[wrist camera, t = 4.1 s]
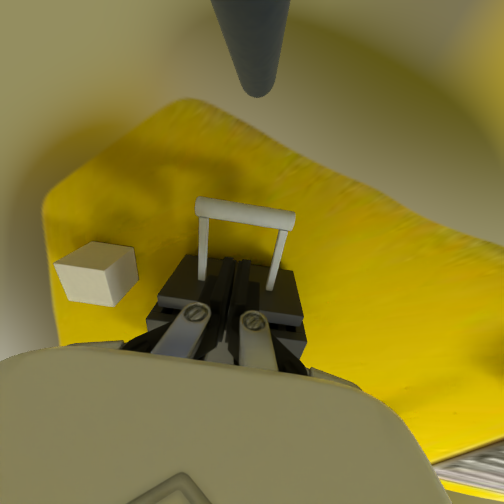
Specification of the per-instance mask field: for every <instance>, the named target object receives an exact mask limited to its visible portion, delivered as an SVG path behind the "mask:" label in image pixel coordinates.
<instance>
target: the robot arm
mask: <svg viewBox="0 0 504 504" xmlns="http://www.w3.org/2000/svg"><path fill="white" fill-rule="evenodd" d="M250 264H251V260H244V259H243V260H242V261H239V263H238V268H237V272H236V277H235V282H234V275H235V267H236V260H233V258H231V257H225V258H224V261H223V263H222V266H221V269H220V272H219V275H218V276H216V275H210V274H209V276H208V278H207V280H206V282H205V285H204V287H203V289H202V292H201V294H200V296H199V299H198V301H197V302H193V303H190V304H188V305H186V306H185V307H184V308H183V309H182V310H181V312H180V313H179V314H178V316H177V317H176V318H175V320H173V321H171V322H169V323H166V324H164V325H162V326H160V327H158V328H155V329H153V330H151V331H149V332H146V333H144V334H142V335H140V336H138V337H135V338H134V339H132V340H130V341H129V342H127V343H124V341H123V340H119V341H104V342H88V343H75V344H70V345H67V346H62V347H50V348H45V349H39V350H34V351H29V352H25V353H21V354H18V355H15V356H12V357H9V358H7V359H5V360H3V361H1V362H0V504H452V502H451V500H450V498H449V497H448V495H447V493H446V491H445V489H444V487H443V485H442V484H441V482H440V480H439V478H438V476H437V474H436V473H435V471H434V469H433V467H432V465H431V464H430V462H429V460H428V458H427V457H426V455H425V453H424V452H423V450H422V448H421V447H420V445H419V444H418V442H417V440H416V439H415V437H414V435H413V434H412V433H411V431H410V430H409V428H408V427H407V425H406V424H405V423H404V422H403V420H402V419H401V418H400V417H399V416H398V415H397V414H396V413H395V412H394V411H393V410H392V409H391V408H390V407H388V406H387V405H385V404H384V403H383V402H381V401H380V400H378V399H376V398H375V397H373V396H371V395H369V394H367V393H365V392H363V391H362V390H361V389H360V388H359V387H358V386H357V385H356V384H354V383H352V382H350V381H347V380H345V379H342V378H339V377H337V376H334V375H331V374H329V373H326V372H323V371H320V370H318V369H315V368H312V367H311V368H310V369H308V368H306V367H305V366H304V365H303V363H302V362H301V361H300V360H299V359H298V358H297V357H296V356H295V355H294V354H293V353H292V352H291V351H290V350H289V349H287V348H286V347H285V346H284V345H283V344H282V343H281V342H280V341H279V340H278V339H277V338H276V337H275V336H274V335H273V334H272V333H271V332H270V328H269V324H268V320H267V318H266V317H265V315H263V314H262V313H261V312H259V300H260V282H256V281H249V273H250ZM233 283H234V286H233ZM232 290H233V291H232ZM229 306H230V307H229ZM228 311H229V315H228ZM227 316H228V323H227V330H226V338H225V343H228V351H229V352H230V354H231V355H232V356H233V360H232V365H229V364H222V363H215V362H208V361H206V360H207V357H208V353H209V352H210V351H212V350H213V349H215V348H217V345H218V342H222V340H223V335H224V330H225V325H226V321H227Z"/></svg>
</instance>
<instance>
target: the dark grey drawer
mask: <svg viewBox="0 0 504 504" xmlns="http://www.w3.org/2000/svg"><path fill="white" fill-rule="evenodd" d="M195 214H196V215H197V216H200V217H199V256H193V255H187V254H186V255H185V256H184V258H183V259H182V261H181V262H180V264H179V265H178V266H177V268H176V269H175V271H174V272H173V274H172V275H171V276H170V278H169V279H168V281H167V282H166V283H165V285H164V286H163V288H162V289H161V291H160V292H159V293H158V295H157V297H158V306H160V307H167V308H174V310H173V312H172V315H178V314H179V313H180V312H181V310H182V309H183V308H184V307H185V306H186V305H188V304H190V303H193V302H197V301H198V299H199V296H200V294H201V292H202V289H203V287H204V285H205V282H206V280H207V278H208V276H209V274H210V275H216V276H218V275H219V272H220V269H221V266H222V263H223V261H224V260H219V259H213V258H207V250H208V227H209V218H213V219H220V220H226V221H232V222H238V223H244V224H251V225H257V226H263V227H269V228H276V229H279V232H278V236H277V241H276V245H275V249H274V253H273V257H272V262H271V266H270V267H264V266H258V265H252V264H250V273H249V281H256V282H260V300H259V312H261V313H262V314H263V315H265V317H266V318H267V320H268V324H269V328H270V329H275V330H282V331H287V330H286V325H290V326H297V327H300V325H301V323H302V320H303V318H304V315H303V311H302V307H301V303H300V299H299V294H298V290H297V286H296V282H295V278H294V273H293V271H290V270H284V269H278V267H279V264H280V260H281V256H282V252H283V248H284V244H285V241H286V237H287V233H288V231H291V230H292V228H293V226H294V222H295V212H292V211H286V210H280V209H274V208H268V207H262V206H256V205H250V204H244V203H238V202H231V201H225V200H219V199H213V198H207V197H201V196H198V197H197V199H196V203H195ZM287 230H288V231H287ZM238 263H239V262H236V267H235V275H234V282H235V277H236V272H237V268H238ZM233 286H234V283H233ZM232 291H233V290H232ZM229 307H230V306H229ZM228 315H229V311H228ZM226 322H227V323H228V316H227V321H226Z"/></svg>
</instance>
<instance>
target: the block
mask: <svg viewBox="0 0 504 504" xmlns="http://www.w3.org/2000/svg"><path fill="white" fill-rule="evenodd" d="M53 264H54V267H55V269H56V271H57V274H58V276H59V278H60V281H61V283H62V285H63V288H64V290H65V293H66V295H67V297H68V300H69V301H76V302H83V303H90V304H97V305H104V306H110V307H114V306H115V305H116V304H117V303H118V302H119V301H120V300H121V299H122V298H123V297H124V296H125V295H126V293H127V292H128V291H129V290H130V289H131V288H132V287H133V286H134V285H135V284H136V283H137V281H138V280H139V277H138V271H137V265H136V259H135V254H134V248H133V247H127V246H120V245H114V244H107V243H101V242H94V241H92V242H90V243H88V244H86V245H84V246H83V247H81V248H79V249H77V250H76V251H74V252H72V253H70V254H68V255H67V256H65V257H63V258H61V259H60V260H58V261H56V262H54V263H53Z"/></svg>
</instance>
